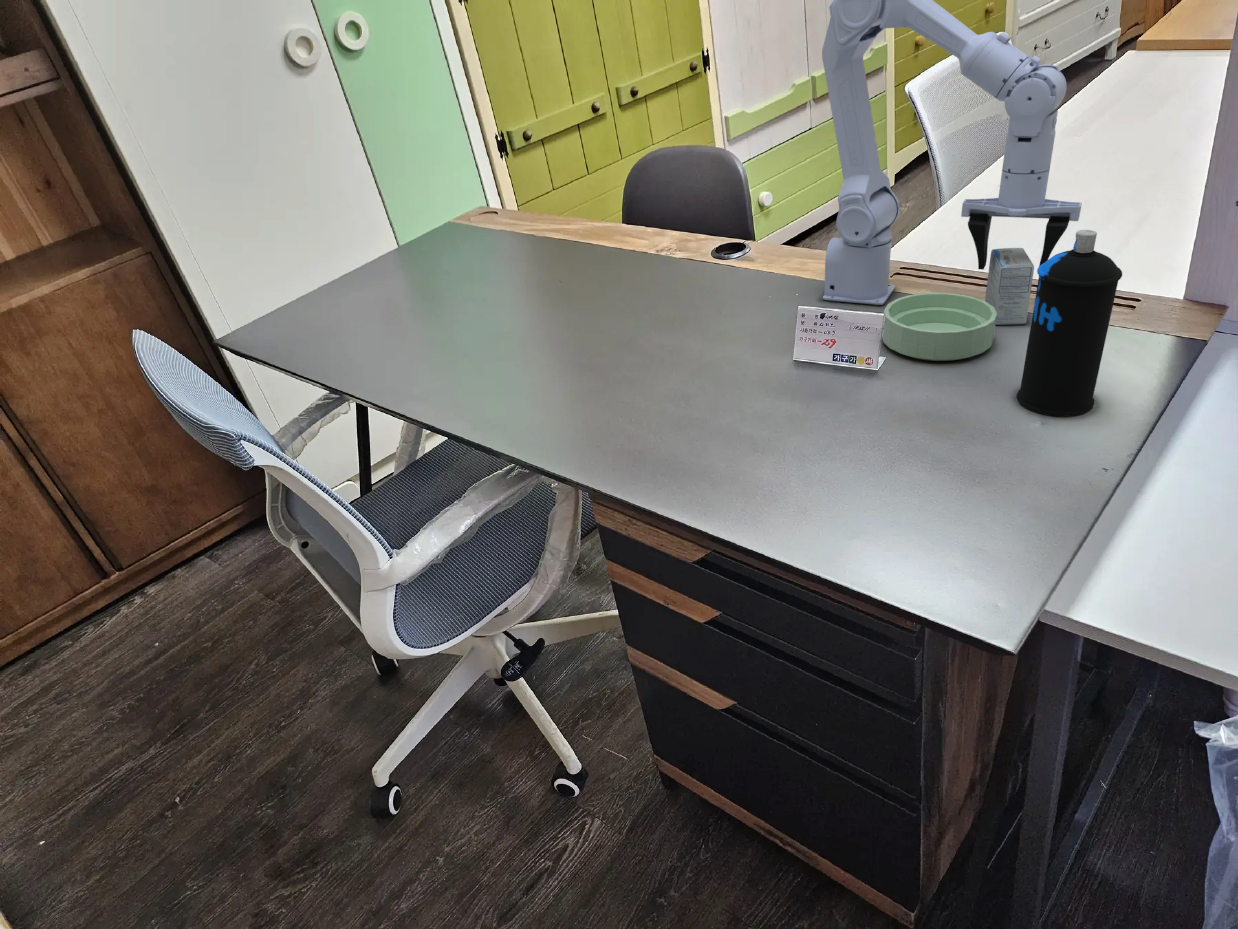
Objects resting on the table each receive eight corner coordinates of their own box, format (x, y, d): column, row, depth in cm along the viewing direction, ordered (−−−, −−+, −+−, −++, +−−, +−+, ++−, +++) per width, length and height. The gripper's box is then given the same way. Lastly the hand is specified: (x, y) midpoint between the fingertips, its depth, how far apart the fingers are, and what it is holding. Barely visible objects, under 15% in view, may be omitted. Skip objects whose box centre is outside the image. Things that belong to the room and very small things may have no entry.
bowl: (870, 356, 114) (872, 325, 112) (896, 317, 125) (898, 288, 122) (982, 370, 108) (986, 337, 105) (999, 327, 118) (1004, 297, 116)
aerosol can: (1089, 386, 101) (1125, 220, 91) (1098, 419, 95) (1137, 244, 84) (1014, 382, 104) (1040, 221, 94) (1018, 414, 98) (1046, 244, 87)
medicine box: (1026, 325, 118) (1036, 265, 113) (992, 325, 119) (1000, 266, 114) (1015, 304, 124) (1024, 246, 120) (983, 305, 125) (990, 247, 121)
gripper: (961, 175, 111) (951, 274, 118) (1085, 177, 105) (1066, 282, 112) (971, 162, 117) (960, 258, 124) (1089, 163, 110) (1071, 265, 117)
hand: (1011, 268), depth 118 cm, fingers open, 7 cm apart
